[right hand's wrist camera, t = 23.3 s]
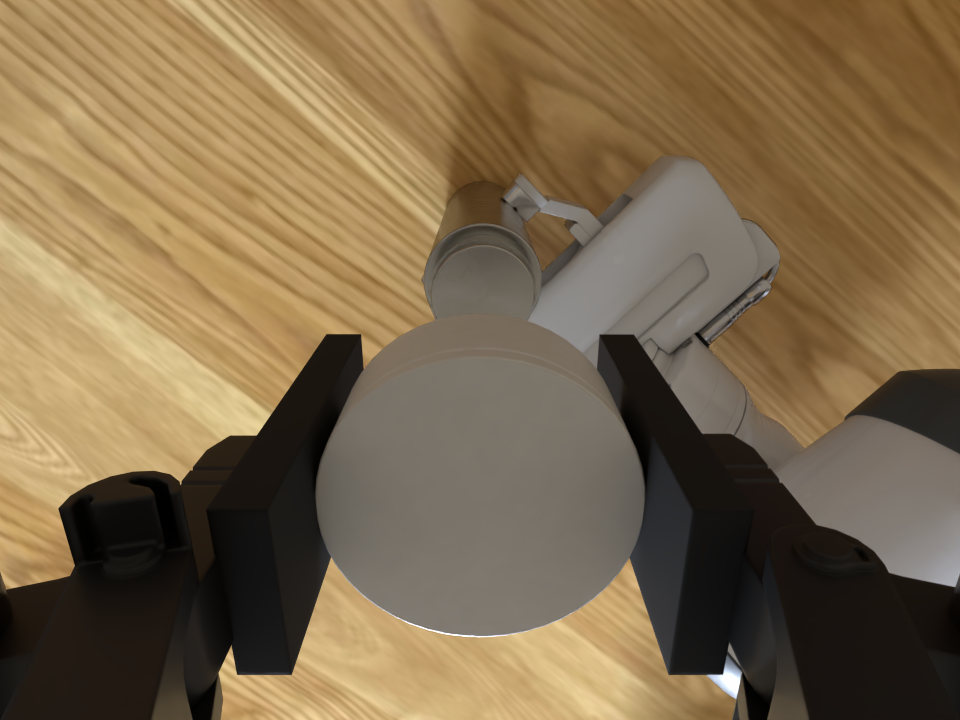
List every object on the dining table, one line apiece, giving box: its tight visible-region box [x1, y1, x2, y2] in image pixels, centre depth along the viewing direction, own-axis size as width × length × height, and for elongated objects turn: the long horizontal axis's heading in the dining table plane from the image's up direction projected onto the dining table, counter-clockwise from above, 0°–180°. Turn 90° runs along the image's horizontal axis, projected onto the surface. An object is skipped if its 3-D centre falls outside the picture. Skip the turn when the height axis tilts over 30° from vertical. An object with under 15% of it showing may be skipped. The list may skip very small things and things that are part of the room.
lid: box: [315, 314, 646, 637], centre depth 11 cm, size 5×5×2 cm
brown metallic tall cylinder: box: [424, 181, 542, 321], centre depth 30 cm, size 5×5×17 cm
